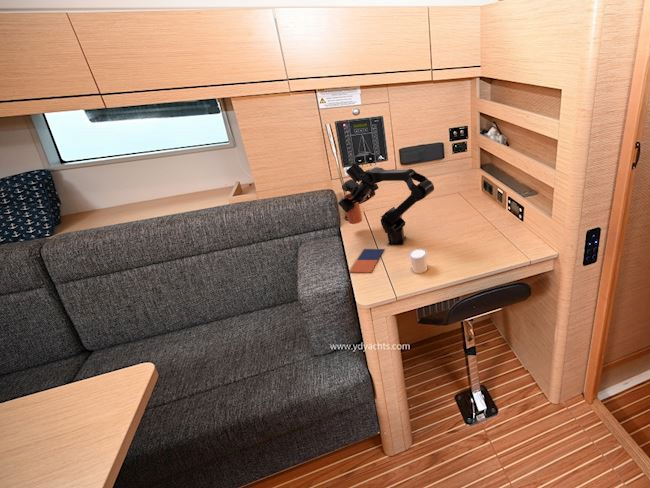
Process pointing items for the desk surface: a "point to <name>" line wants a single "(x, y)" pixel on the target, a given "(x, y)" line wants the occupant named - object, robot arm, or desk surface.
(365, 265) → the sorting mat
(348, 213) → the terracotta cup
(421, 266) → the shot glass
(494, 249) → the desk surface
